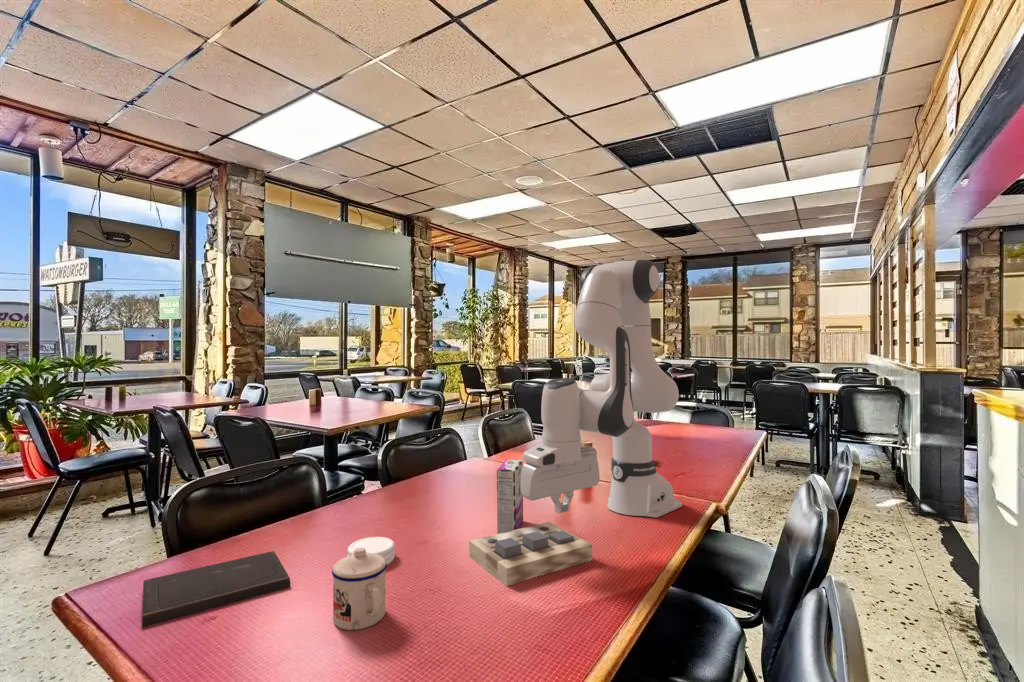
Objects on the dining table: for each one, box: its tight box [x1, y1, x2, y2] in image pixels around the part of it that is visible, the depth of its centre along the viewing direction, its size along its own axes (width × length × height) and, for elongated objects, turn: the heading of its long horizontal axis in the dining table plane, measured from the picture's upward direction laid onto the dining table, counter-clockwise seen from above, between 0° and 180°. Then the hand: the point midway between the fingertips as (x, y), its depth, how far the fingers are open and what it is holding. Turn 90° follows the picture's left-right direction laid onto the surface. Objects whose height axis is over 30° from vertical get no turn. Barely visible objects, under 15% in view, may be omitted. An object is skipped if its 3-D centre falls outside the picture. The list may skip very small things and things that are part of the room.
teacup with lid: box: [331, 548, 388, 631], centre depth 83 cm, size 12×9×12 cm
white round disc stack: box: [346, 536, 396, 566], centre depth 107 cm, size 10×10×4 cm
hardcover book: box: [141, 550, 291, 628], centre depth 94 cm, size 16×23×2 cm
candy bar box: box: [496, 458, 524, 534], centre depth 126 cm, size 11×5×16 cm, turn 168°
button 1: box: [495, 538, 521, 560], centre depth 102 cm, size 4×4×3 cm
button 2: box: [548, 531, 573, 545], centre depth 110 cm, size 4×4×3 cm
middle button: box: [523, 531, 548, 552], centre depth 106 cm, size 4×4×3 cm
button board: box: [468, 521, 593, 587], centre depth 108 cm, size 22×16×4 cm
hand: (562, 511), depth 111 cm, fingers closed
